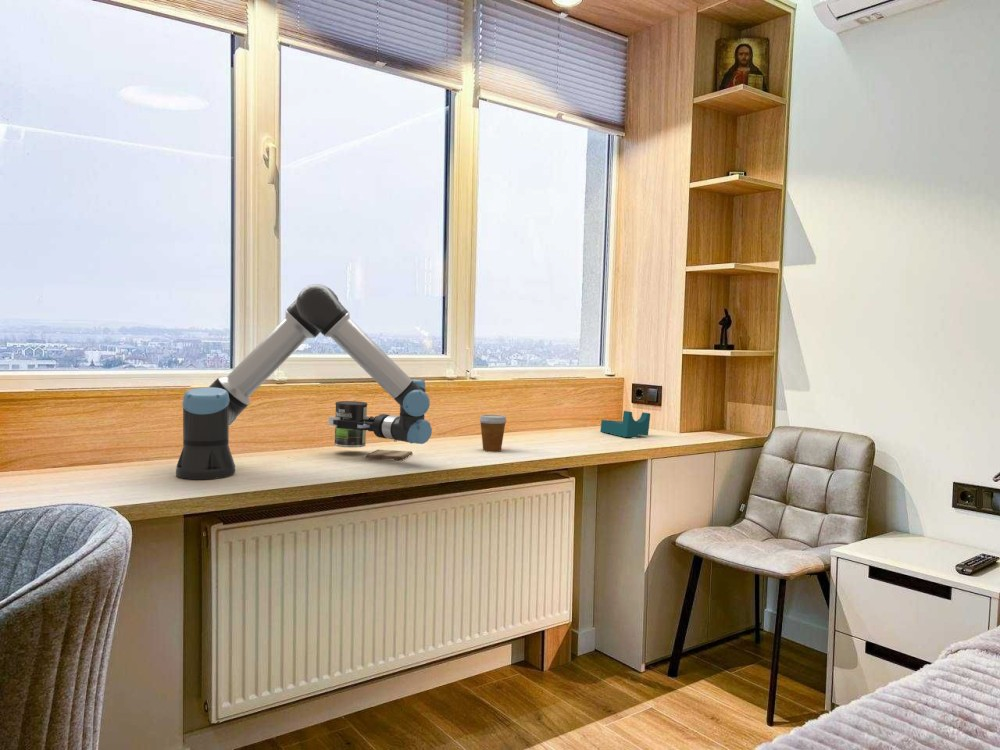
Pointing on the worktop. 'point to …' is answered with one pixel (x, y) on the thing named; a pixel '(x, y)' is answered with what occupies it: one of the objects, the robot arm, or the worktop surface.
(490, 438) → the disposable coffee cup
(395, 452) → the trivet
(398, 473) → the worktop surface
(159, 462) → the worktop surface
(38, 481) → the worktop surface
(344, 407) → the coffee can
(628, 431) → the teal l-shaped bracket
